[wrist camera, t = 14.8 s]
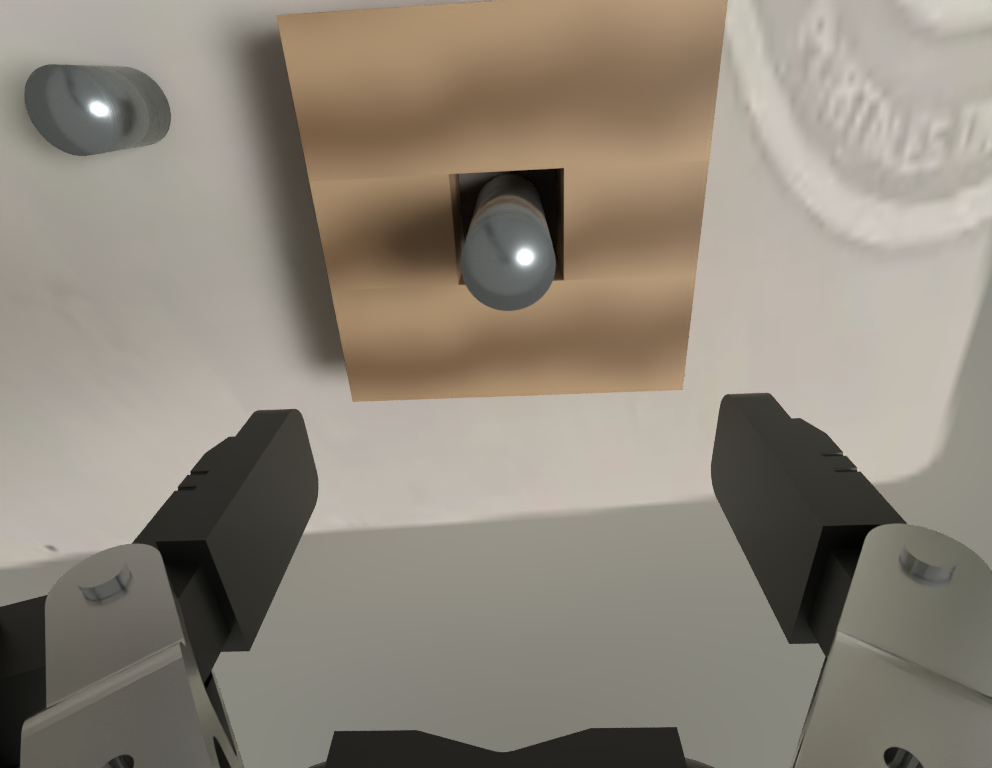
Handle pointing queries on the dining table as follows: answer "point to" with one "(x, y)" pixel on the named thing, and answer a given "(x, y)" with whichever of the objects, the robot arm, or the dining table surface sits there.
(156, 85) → the short pin
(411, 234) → the block
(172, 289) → the dining table surface
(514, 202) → the long pin
